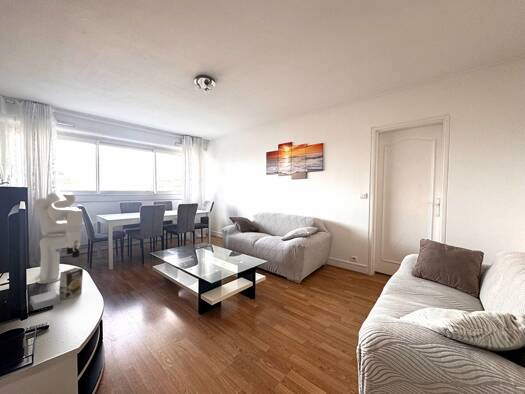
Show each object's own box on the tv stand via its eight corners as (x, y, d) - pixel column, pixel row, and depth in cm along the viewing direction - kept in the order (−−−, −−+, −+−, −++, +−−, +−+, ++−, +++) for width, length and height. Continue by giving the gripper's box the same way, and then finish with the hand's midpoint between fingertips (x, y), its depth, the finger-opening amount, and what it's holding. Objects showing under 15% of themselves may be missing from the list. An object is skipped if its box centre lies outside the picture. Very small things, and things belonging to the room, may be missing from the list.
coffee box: (66, 299, 127) (67, 273, 126) (58, 297, 128) (59, 272, 127) (82, 292, 136) (83, 268, 135) (74, 291, 137) (75, 267, 136)
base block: (30, 305, 119) (30, 296, 119) (54, 298, 128) (54, 290, 127) (34, 312, 113) (34, 303, 113) (59, 304, 122) (59, 296, 122)
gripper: (61, 227, 132) (60, 253, 132) (71, 231, 123) (69, 260, 123) (76, 226, 138) (75, 251, 139) (86, 230, 129) (85, 257, 129)
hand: (72, 255), depth 131 cm, fingers open, 9 cm apart
